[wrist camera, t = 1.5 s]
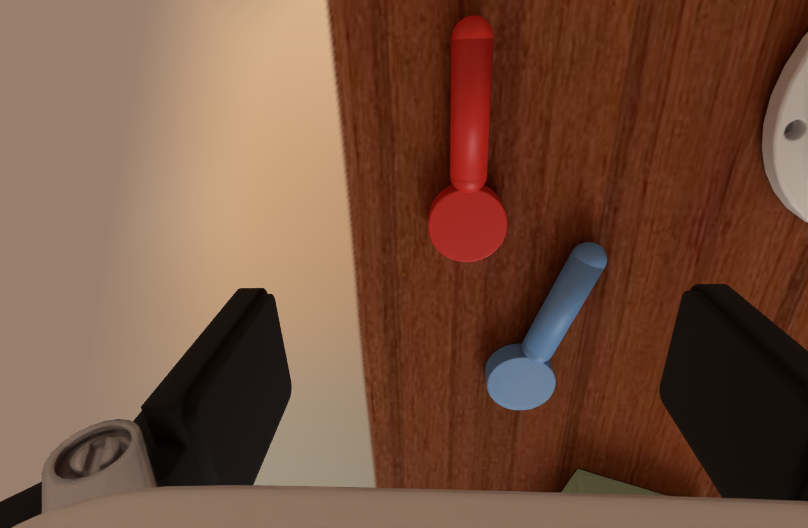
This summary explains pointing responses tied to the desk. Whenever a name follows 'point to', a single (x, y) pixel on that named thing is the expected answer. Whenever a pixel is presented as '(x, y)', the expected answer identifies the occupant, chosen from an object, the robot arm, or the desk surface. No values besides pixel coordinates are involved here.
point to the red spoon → (469, 153)
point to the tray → (602, 485)
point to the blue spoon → (544, 335)
